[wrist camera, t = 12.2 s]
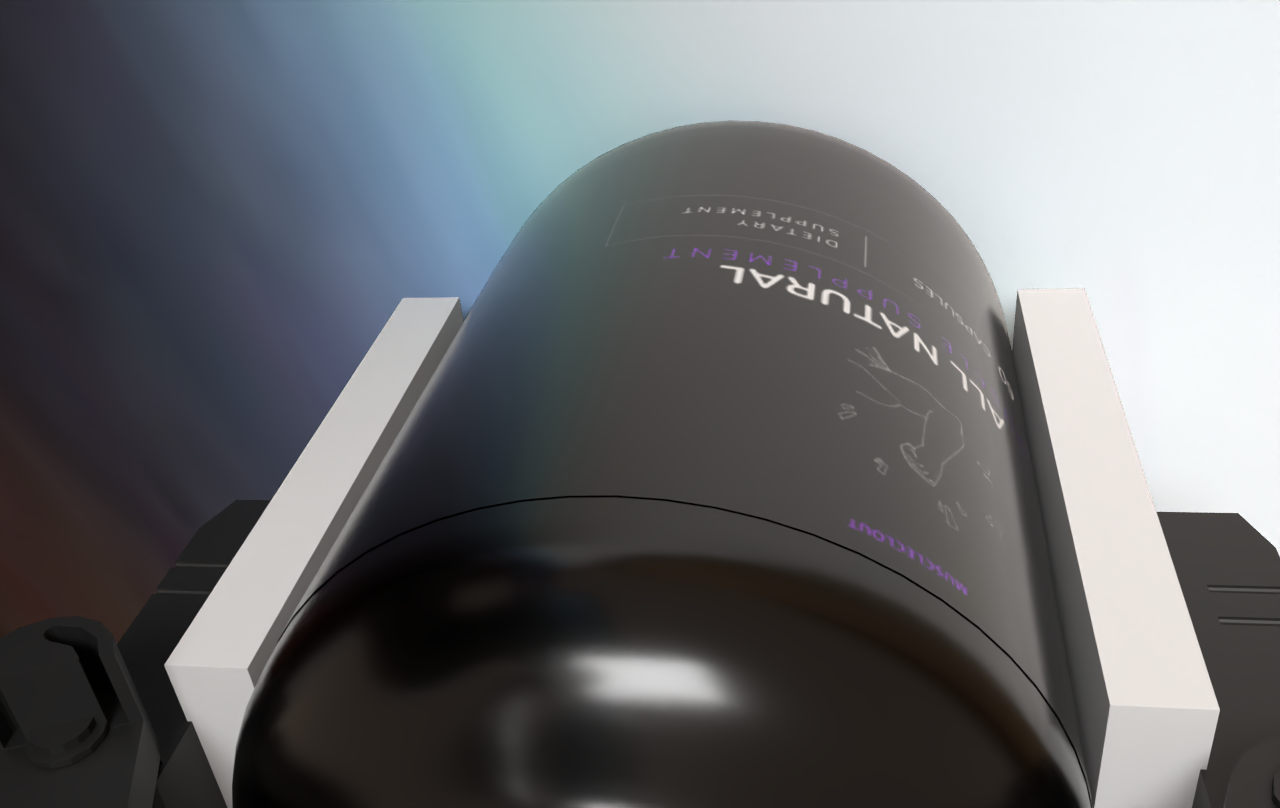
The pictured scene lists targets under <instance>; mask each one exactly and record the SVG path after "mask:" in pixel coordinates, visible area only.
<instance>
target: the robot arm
mask: <svg viewBox="0 0 1280 808" xmlns="http://www.w3.org/2000/svg"><path fill="white" fill-rule="evenodd" d="M463 322H464V319H463V314H462V309H461V304H460V299H459V297H443V298H403V299H402V300H401V302H400V303H399V305H398V306H397V308H396V309H395V311H394V312H393V314H392V315H391V317H390V319H389V320H388V322H387V323H386V325H385V326H384V328H383V329H382V331H381V332H380V334H379V335H378V337H377V339H376V340H375V342H374V343H373V345H372V346H371V348H370V349H369V351H368V352H367V354H366V355H365V357H364V359H363V360H362V362H361V363H360V365H359V366H358V368H357V369H356V371H355V372H354V374H353V375H352V377H351V379H350V380H349V382H348V383H347V385H346V386H345V388H344V389H343V391H342V392H341V394H340V395H339V397H338V399H337V400H336V402H335V403H334V405H333V406H332V408H331V409H330V411H329V412H328V414H327V415H326V417H325V418H324V420H323V422H322V423H321V425H320V426H319V428H318V429H317V431H316V432H315V434H314V435H313V437H312V438H311V440H310V442H309V443H308V445H307V446H306V448H305V449H304V451H303V452H302V454H301V455H300V457H299V458H298V460H297V462H296V463H295V465H294V466H293V468H292V469H291V471H290V472H289V474H288V475H287V477H286V478H285V480H284V482H283V483H282V485H281V486H280V488H279V489H278V491H277V492H276V494H275V495H274V497H273V498H272V500H271V501H267V500H236V501H234V502H233V503H232V504H230V505H229V506H228V507H227V508H225V509H224V510H223V511H221V512H220V513H219V514H217V515H216V516H215V517H213V518H212V519H211V520H209V521H208V522H207V523H206V524H204V525H203V526H202V527H200V528H199V529H198V531H197V532H196V533H195V535H194V536H193V538H192V539H191V541H190V542H189V543H188V545H187V546H186V548H185V549H184V550H183V552H182V553H181V555H180V556H179V558H178V559H177V560H176V567H175V568H174V567H171V569H170V570H169V572H168V573H167V574H166V576H165V577H164V579H163V580H162V582H161V583H160V584H159V586H158V587H157V589H158V591H157V594H152V596H151V597H150V598H149V600H148V601H147V603H146V604H145V606H144V607H143V608H142V610H141V611H140V613H139V614H138V615H137V617H136V618H135V620H134V621H133V622H132V624H131V625H130V627H129V628H128V630H127V631H126V632H125V634H124V635H123V637H122V638H121V639H120V641H119V642H118V644H116V641H115V639H114V637H113V635H112V634H111V633H110V632H109V631H108V630H107V629H106V628H105V627H104V626H103V625H102V624H101V623H100V622H98V621H95V620H91V619H87V618H83V617H79V616H75V617H61V618H50V619H46V620H43V621H40V622H37V623H34V624H30V625H27V626H24V627H21V628H18V629H17V630H15V631H13V632H11V633H9V634H8V635H6V636H4V637H2V638H0V808H233V807H232V779H233V768H234V759H235V750H236V744H237V740H238V736H239V732H240V728H241V725H242V721H243V717H244V714H245V710H246V707H247V705H248V702H249V700H250V698H251V696H252V693H253V691H254V689H255V687H256V684H257V682H258V680H259V678H260V676H261V674H262V672H263V670H264V667H265V665H266V663H267V661H268V659H269V657H270V656H271V654H272V652H273V650H274V648H275V646H276V644H277V641H278V639H279V637H280V635H281V634H282V632H283V630H284V628H285V627H286V625H287V623H288V621H289V620H290V618H291V616H292V614H293V613H294V611H295V609H296V608H297V606H298V604H299V602H300V601H301V599H302V597H303V596H304V594H305V592H306V590H307V589H308V587H309V585H310V584H311V582H312V580H313V578H314V577H315V575H316V573H317V572H318V570H319V568H320V566H321V565H322V563H323V561H324V560H325V558H326V556H327V554H328V553H329V551H330V549H331V548H332V546H333V544H334V542H335V541H336V539H337V537H338V536H339V534H340V532H341V530H342V529H343V527H344V525H345V524H346V522H347V520H348V518H349V517H350V515H351V513H352V512H353V510H354V508H355V506H356V505H357V503H358V501H359V500H360V498H361V496H362V495H363V493H364V491H365V489H366V488H367V486H368V484H369V483H370V481H371V479H372V477H373V476H374V474H375V472H376V471H377V469H378V467H379V465H380V464H381V462H382V460H383V459H384V457H385V455H386V453H387V452H388V450H389V448H390V447H391V445H392V443H393V441H394V440H395V438H396V436H397V435H398V433H399V431H400V430H401V428H402V426H403V424H404V423H405V421H406V419H407V418H408V416H409V414H410V412H411V411H412V409H413V407H414V406H415V404H416V402H417V400H418V399H419V397H420V395H421V394H422V392H423V390H424V388H425V387H426V385H427V383H428V382H429V380H430V378H431V376H432V375H433V373H434V371H435V370H436V368H437V366H438V365H439V363H440V361H441V359H442V358H443V356H444V354H445V353H446V351H447V349H448V347H449V346H450V344H451V342H452V341H453V339H454V337H455V335H456V334H457V332H458V330H459V329H460V327H461V325H462V323H463ZM1012 355H1013V360H1014V364H1015V369H1016V374H1017V380H1018V385H1019V391H1020V397H1021V402H1022V408H1023V414H1024V419H1025V425H1026V431H1027V436H1028V442H1029V448H1030V453H1031V459H1032V465H1033V470H1034V476H1035V481H1036V487H1037V493H1038V498H1039V504H1040V510H1041V515H1042V521H1043V527H1044V532H1045V538H1046V544H1047V549H1048V555H1049V561H1050V566H1051V572H1052V578H1053V583H1054V589H1055V594H1056V600H1057V606H1058V611H1059V617H1060V623H1061V628H1062V634H1063V640H1064V645H1065V651H1066V657H1067V662H1068V668H1069V674H1070V679H1071V685H1072V690H1073V696H1074V702H1075V707H1076V713H1077V719H1078V724H1079V730H1080V736H1081V742H1082V747H1083V753H1084V759H1085V764H1086V770H1087V776H1088V781H1089V787H1090V793H1091V800H1092V806H1093V808H1280V557H1279V555H1278V552H1277V550H1276V548H1275V547H1274V546H1273V545H1272V544H1271V543H1270V542H1269V541H1268V540H1267V539H1265V538H1264V537H1263V536H1262V535H1261V534H1260V533H1259V532H1258V531H1257V530H1256V529H1255V528H1253V527H1252V526H1251V525H1250V524H1249V523H1248V522H1247V521H1246V520H1245V519H1244V518H1243V517H1241V516H1240V515H1239V514H1238V513H1189V512H1156V509H1155V506H1154V503H1153V500H1152V497H1151V493H1150V490H1149V487H1148V484H1147V481H1146V478H1145V475H1144V472H1143V468H1142V465H1141V462H1140V459H1139V456H1138V453H1137V450H1136V447H1135V443H1134V440H1133V437H1132V434H1131V431H1130V428H1129V425H1128V422H1127V419H1126V415H1125V412H1124V409H1123V406H1122V403H1121V400H1120V397H1119V394H1118V390H1117V387H1116V384H1115V381H1114V378H1113V375H1112V372H1111V369H1110V365H1109V362H1108V359H1107V356H1106V353H1105V350H1104V347H1103V344H1102V341H1101V337H1100V334H1099V331H1098V328H1097V325H1096V322H1095V319H1094V316H1093V312H1092V309H1091V306H1090V303H1089V300H1088V297H1087V294H1086V291H1085V288H1077V289H1017V301H1016V314H1015V326H1014V339H1013V351H1012Z"/></svg>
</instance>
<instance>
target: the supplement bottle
mask: <svg viewBox="0 0 1280 808" xmlns="http://www.w3.org/2000/svg"><path fill="white" fill-rule="evenodd" d="M232 807H233V808H1093V806H1092V800H1091V793H1090V787H1089V781H1088V776H1087V770H1086V764H1085V759H1084V753H1083V747H1082V742H1081V736H1080V730H1079V724H1078V719H1077V713H1076V707H1075V702H1074V696H1073V690H1072V685H1071V679H1070V674H1069V668H1068V662H1067V657H1066V651H1065V645H1064V640H1063V634H1062V628H1061V623H1060V617H1059V611H1058V606H1057V600H1056V594H1055V589H1054V583H1053V578H1052V572H1051V566H1050V561H1049V555H1048V549H1047V544H1046V538H1045V532H1044V527H1043V521H1042V515H1041V510H1040V504H1039V498H1038V493H1037V487H1036V481H1035V476H1034V470H1033V465H1032V459H1031V453H1030V448H1029V442H1028V436H1027V431H1026V425H1025V419H1024V414H1023V408H1022V402H1021V397H1020V391H1019V385H1018V380H1017V374H1016V369H1015V364H1014V360H1013V355H1012V350H1011V346H1010V342H1009V337H1008V333H1007V328H1006V323H1005V318H1004V314H1003V310H1002V307H1001V304H1000V301H999V299H998V296H997V293H996V290H995V287H994V284H993V282H992V279H991V277H990V275H989V273H988V271H987V269H986V267H985V264H984V262H983V260H982V258H981V257H980V255H979V253H978V252H977V250H976V248H975V247H974V245H973V244H972V242H971V240H970V239H969V237H968V236H967V234H966V233H965V232H964V231H963V229H962V228H961V227H960V225H959V224H958V223H957V222H956V220H955V219H954V218H953V217H952V215H951V214H950V213H949V212H948V211H947V210H946V209H945V208H944V207H943V206H942V205H941V204H940V203H939V202H938V201H937V200H936V199H935V198H934V197H933V196H932V195H931V194H929V193H928V192H927V191H926V190H925V189H924V188H922V187H921V186H920V185H919V184H918V183H916V182H915V181H914V180H913V179H911V178H910V177H909V176H907V175H906V174H904V173H903V172H901V171H900V170H898V169H897V168H895V167H894V166H893V165H891V164H890V163H888V162H886V161H884V160H882V159H881V158H879V157H877V156H875V155H873V154H872V153H870V152H868V151H866V150H864V149H862V148H859V147H857V146H855V145H852V144H850V143H848V142H845V141H843V140H841V139H838V138H835V137H832V136H828V135H825V134H822V133H819V132H816V131H813V130H808V129H803V128H799V127H794V126H790V125H784V124H776V123H768V122H759V121H719V122H705V123H698V124H692V125H686V126H680V127H675V128H671V129H668V130H664V131H660V132H656V133H653V134H649V135H647V136H644V137H641V138H639V139H636V140H633V141H631V142H628V143H626V144H623V145H621V146H619V147H617V148H615V149H613V150H611V151H609V152H607V153H605V154H603V155H601V156H599V157H597V158H596V159H594V160H593V161H591V162H590V163H588V164H587V165H585V166H583V167H582V168H580V169H579V170H577V171H576V172H575V173H574V174H572V175H571V176H570V177H569V178H567V179H566V180H565V181H564V182H562V183H561V184H560V185H559V186H558V187H557V188H556V189H555V190H554V191H553V192H552V193H551V194H550V195H549V196H548V197H547V198H546V199H545V200H544V201H543V202H542V203H541V204H540V205H539V206H538V207H537V209H536V210H535V211H534V212H533V213H532V215H531V216H530V217H529V218H528V220H527V221H526V222H525V223H524V225H523V226H522V227H521V229H520V230H519V232H518V233H517V235H516V237H515V238H514V240H513V241H512V243H511V244H510V246H509V248H508V249H507V251H506V252H505V254H504V255H503V257H502V258H501V260H500V261H499V263H498V265H497V266H496V268H495V269H494V271H493V272H492V274H491V276H490V277H489V279H488V281H487V282H486V284H485V286H484V288H483V289H482V291H481V293H480V294H479V296H478V298H477V300H476V301H475V303H474V305H473V306H472V308H471V310H470V311H469V313H468V315H467V317H466V318H465V320H464V322H463V323H462V325H461V327H460V329H459V330H458V332H457V334H456V335H455V337H454V339H453V341H452V342H451V344H450V346H449V347H448V349H447V351H446V353H445V354H444V356H443V358H442V359H441V361H440V363H439V365H438V366H437V368H436V370H435V371H434V373H433V375H432V376H431V378H430V380H429V382H428V383H427V385H426V387H425V388H424V390H423V392H422V394H421V395H420V397H419V399H418V400H417V402H416V404H415V406H414V407H413V409H412V411H411V412H410V414H409V416H408V418H407V419H406V421H405V423H404V424H403V426H402V428H401V430H400V431H399V433H398V435H397V436H396V438H395V440H394V441H393V443H392V445H391V447H390V448H389V450H388V452H387V453H386V455H385V457H384V459H383V460H382V462H381V464H380V465H379V467H378V469H377V471H376V472H375V474H374V476H373V477H372V479H371V481H370V483H369V484H368V486H367V488H366V489H365V491H364V493H363V495H362V496H361V498H360V500H359V501H358V503H357V505H356V506H355V508H354V510H353V512H352V513H351V515H350V517H349V518H348V520H347V522H346V524H345V525H344V527H343V529H342V530H341V532H340V534H339V536H338V537H337V539H336V541H335V542H334V544H333V546H332V548H331V549H330V551H329V553H328V554H327V556H326V558H325V560H324V561H323V563H322V565H321V566H320V568H319V570H318V572H317V573H316V575H315V577H314V578H313V580H312V582H311V584H310V585H309V587H308V589H307V590H306V592H305V594H304V596H303V597H302V599H301V601H300V602H299V604H298V606H297V608H296V609H295V611H294V613H293V614H292V616H291V618H290V620H289V621H288V623H287V625H286V627H285V628H284V630H283V632H282V634H281V635H280V637H279V639H278V641H277V644H276V646H275V648H274V650H273V652H272V654H271V656H270V657H269V659H268V661H267V663H266V665H265V667H264V670H263V672H262V674H261V676H260V678H259V680H258V682H257V684H256V687H255V689H254V691H253V693H252V696H251V698H250V700H249V702H248V705H247V707H246V710H245V714H244V717H243V721H242V725H241V728H240V732H239V736H238V740H237V744H236V750H235V759H234V768H233V779H232Z"/></svg>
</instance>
